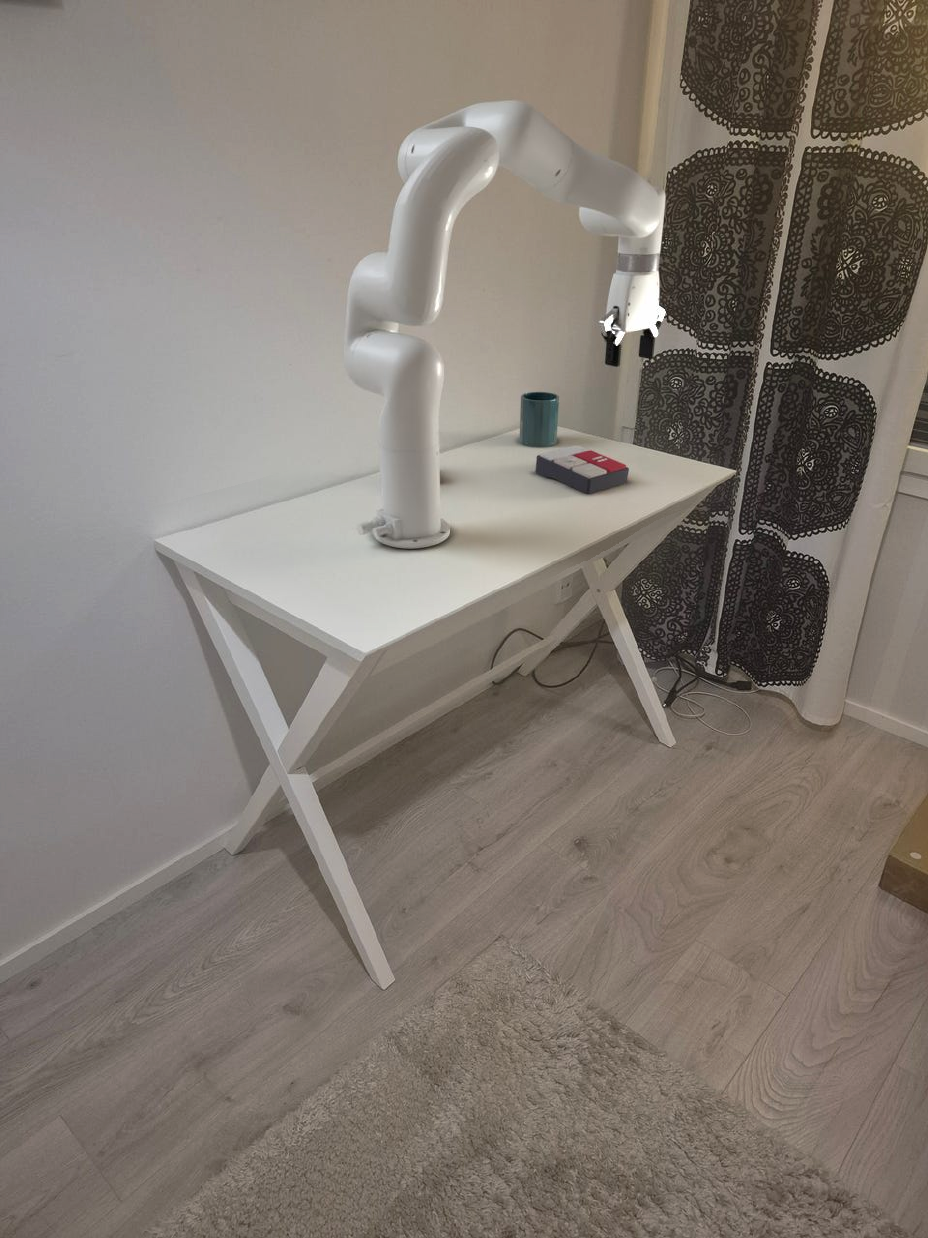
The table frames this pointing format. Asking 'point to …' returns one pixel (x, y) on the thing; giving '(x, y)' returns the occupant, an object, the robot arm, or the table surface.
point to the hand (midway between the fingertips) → (629, 361)
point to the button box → (582, 469)
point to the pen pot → (539, 419)
